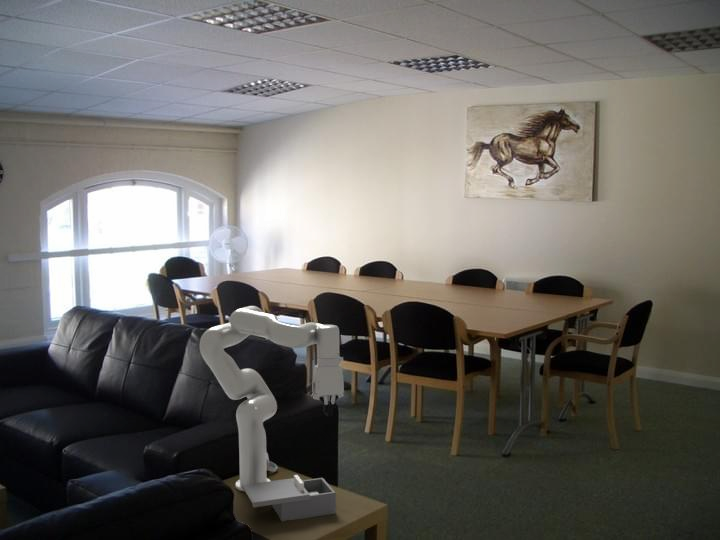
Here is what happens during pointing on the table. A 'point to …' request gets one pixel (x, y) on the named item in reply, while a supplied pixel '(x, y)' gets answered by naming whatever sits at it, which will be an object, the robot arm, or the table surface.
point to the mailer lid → (276, 492)
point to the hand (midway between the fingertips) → (328, 414)
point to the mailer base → (310, 502)
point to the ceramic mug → (270, 464)
